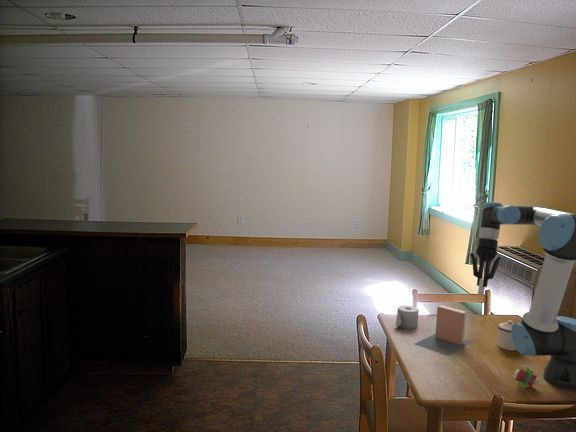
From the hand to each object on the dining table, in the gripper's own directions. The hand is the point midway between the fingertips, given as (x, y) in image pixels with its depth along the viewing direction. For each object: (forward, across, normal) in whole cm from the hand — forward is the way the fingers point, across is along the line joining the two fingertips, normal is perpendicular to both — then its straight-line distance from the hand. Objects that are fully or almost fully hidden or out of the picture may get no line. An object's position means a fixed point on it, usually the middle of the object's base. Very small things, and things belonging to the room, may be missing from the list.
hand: (480, 294), depth 208 cm
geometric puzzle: (+29, -26, +16) cm, 42 cm away
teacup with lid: (+20, -8, -18) cm, 28 cm away
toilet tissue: (+22, +35, -6) cm, 42 cm away
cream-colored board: (+22, +12, -5) cm, 26 cm away
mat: (+24, +12, 0) cm, 27 cm away
